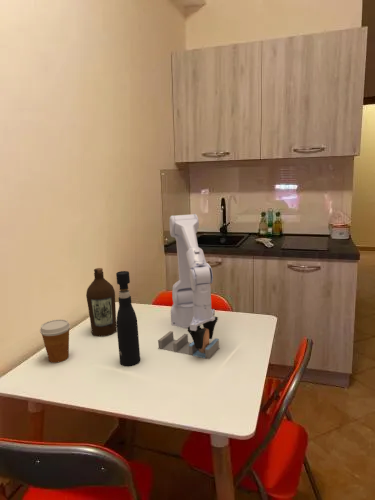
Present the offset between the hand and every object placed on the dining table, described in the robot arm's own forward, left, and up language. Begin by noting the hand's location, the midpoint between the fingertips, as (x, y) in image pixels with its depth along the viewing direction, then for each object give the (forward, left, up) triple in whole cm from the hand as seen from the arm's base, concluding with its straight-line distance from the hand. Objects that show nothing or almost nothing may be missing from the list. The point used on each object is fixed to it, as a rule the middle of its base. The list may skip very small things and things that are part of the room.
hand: (203, 343), depth 122 cm
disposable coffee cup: (-44, -21, -4) cm, 49 cm away
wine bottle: (-19, -15, -4) cm, 24 cm away
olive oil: (-44, +2, -4) cm, 44 cm away
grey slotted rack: (-6, 0, -4) cm, 7 cm away
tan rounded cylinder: (0, 0, -3) cm, 3 cm away
